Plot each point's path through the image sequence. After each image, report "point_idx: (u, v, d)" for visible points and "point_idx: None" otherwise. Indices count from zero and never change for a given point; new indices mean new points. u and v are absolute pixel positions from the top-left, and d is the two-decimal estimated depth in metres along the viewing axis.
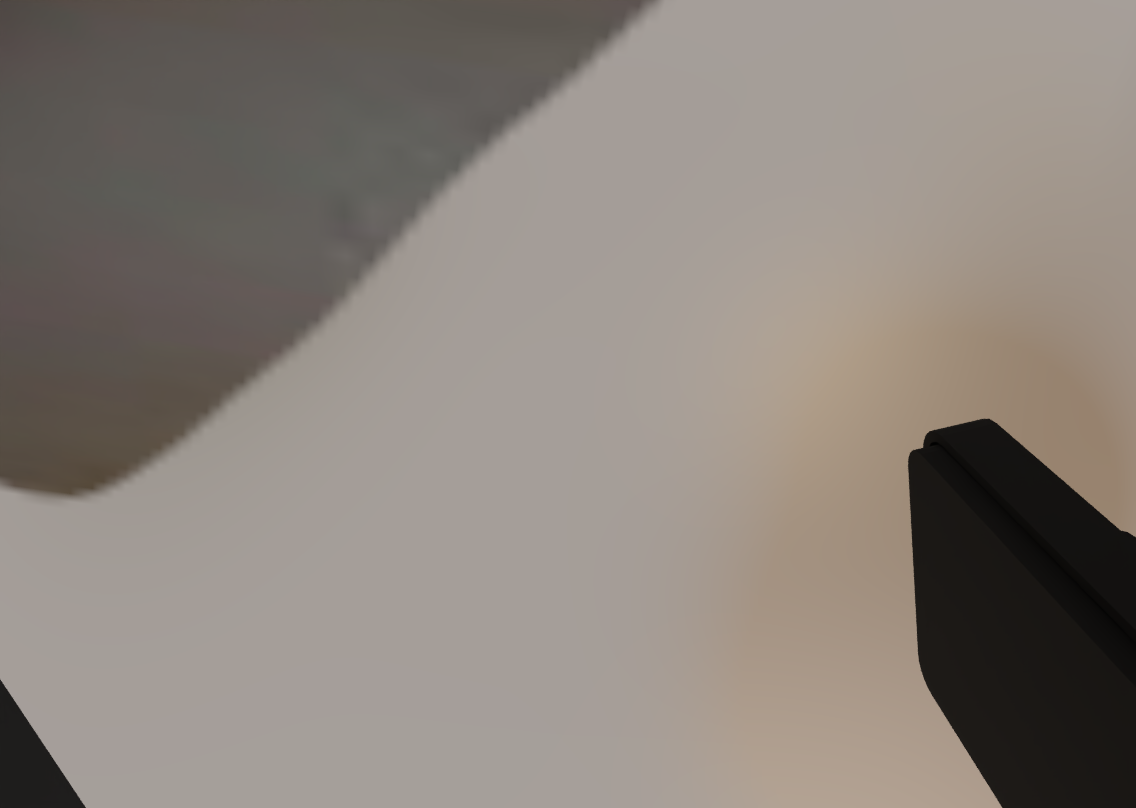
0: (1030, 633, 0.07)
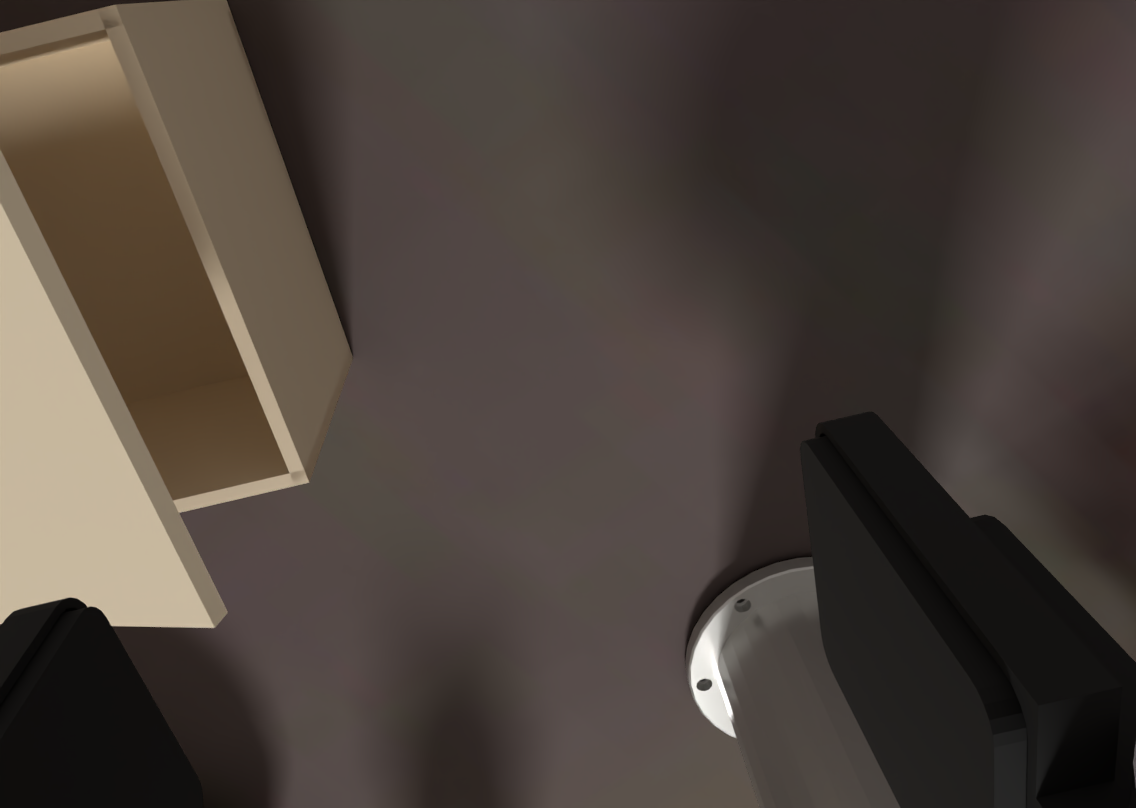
0: (887, 608, 0.07)
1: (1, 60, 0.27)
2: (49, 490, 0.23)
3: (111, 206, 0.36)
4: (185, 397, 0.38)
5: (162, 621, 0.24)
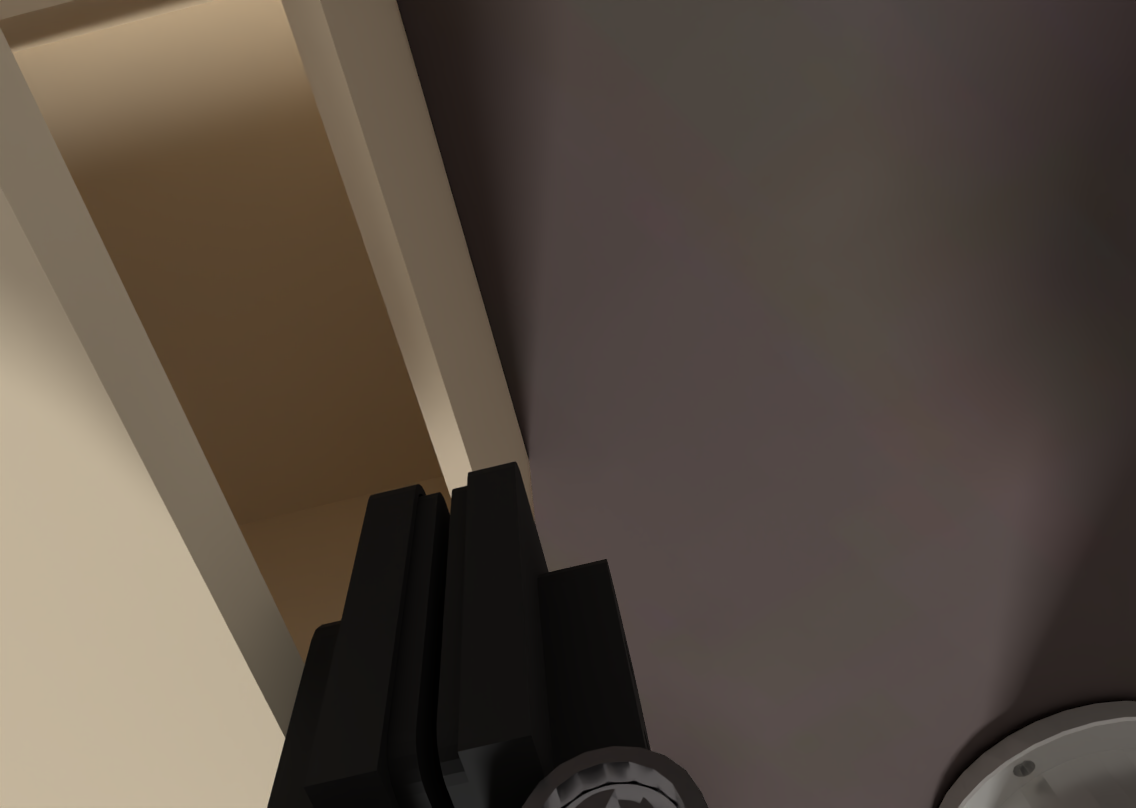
0: None
1: (42, 28, 0.15)
2: None
3: (194, 257, 0.24)
4: (296, 527, 0.27)
5: None
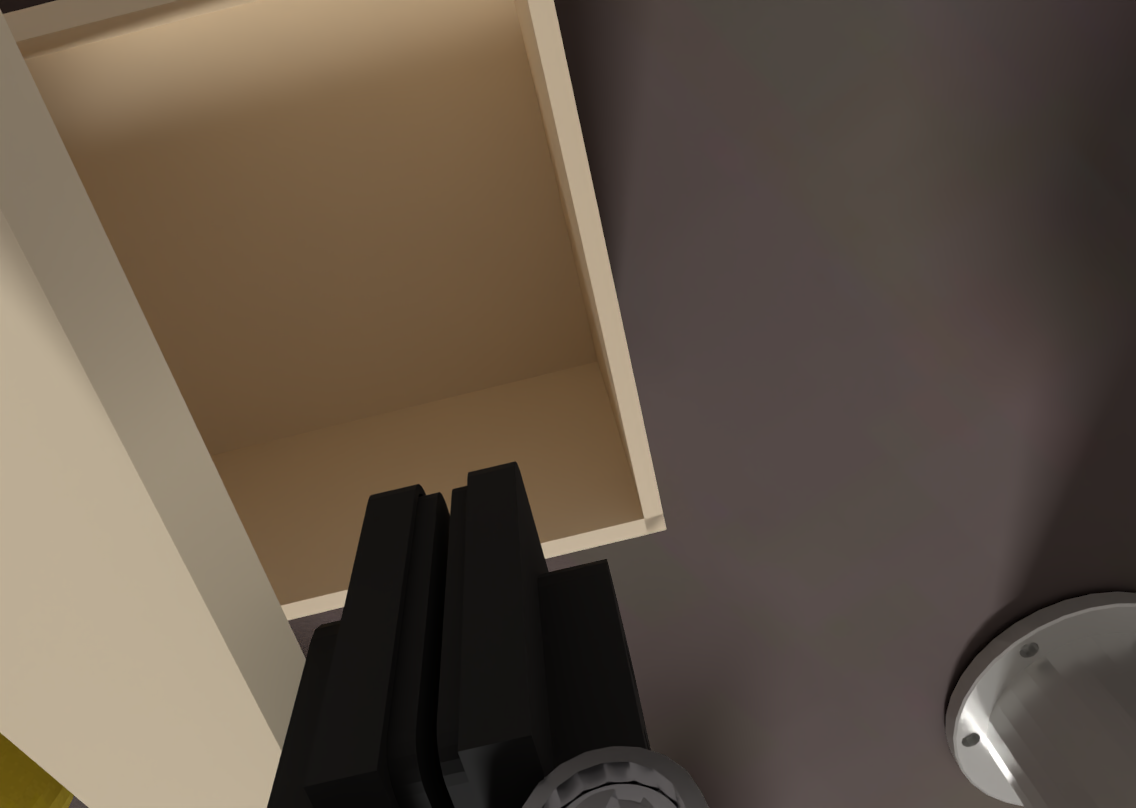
0: None
1: None
2: None
3: (349, 182, 0.29)
4: (420, 415, 0.32)
5: None
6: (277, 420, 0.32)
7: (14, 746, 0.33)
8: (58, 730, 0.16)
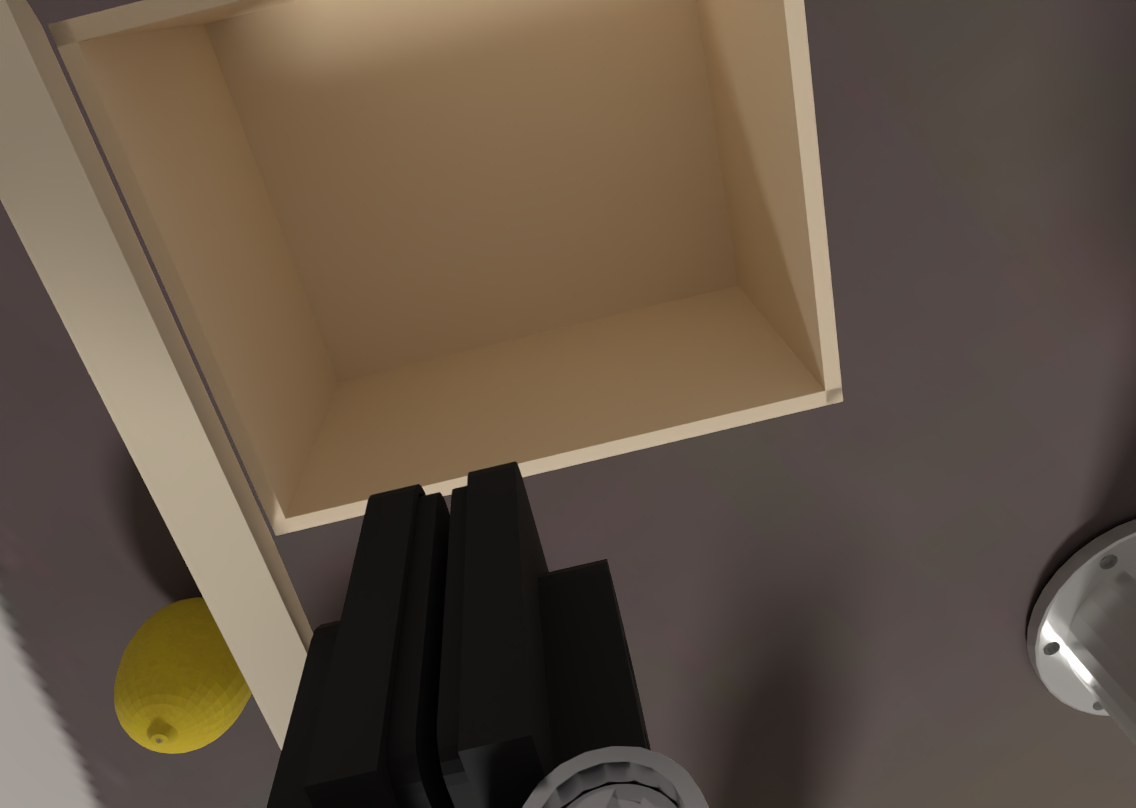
0: None
1: None
2: None
3: (535, 119, 0.33)
4: (583, 331, 0.36)
5: None
6: (453, 336, 0.36)
7: (214, 627, 0.37)
8: None
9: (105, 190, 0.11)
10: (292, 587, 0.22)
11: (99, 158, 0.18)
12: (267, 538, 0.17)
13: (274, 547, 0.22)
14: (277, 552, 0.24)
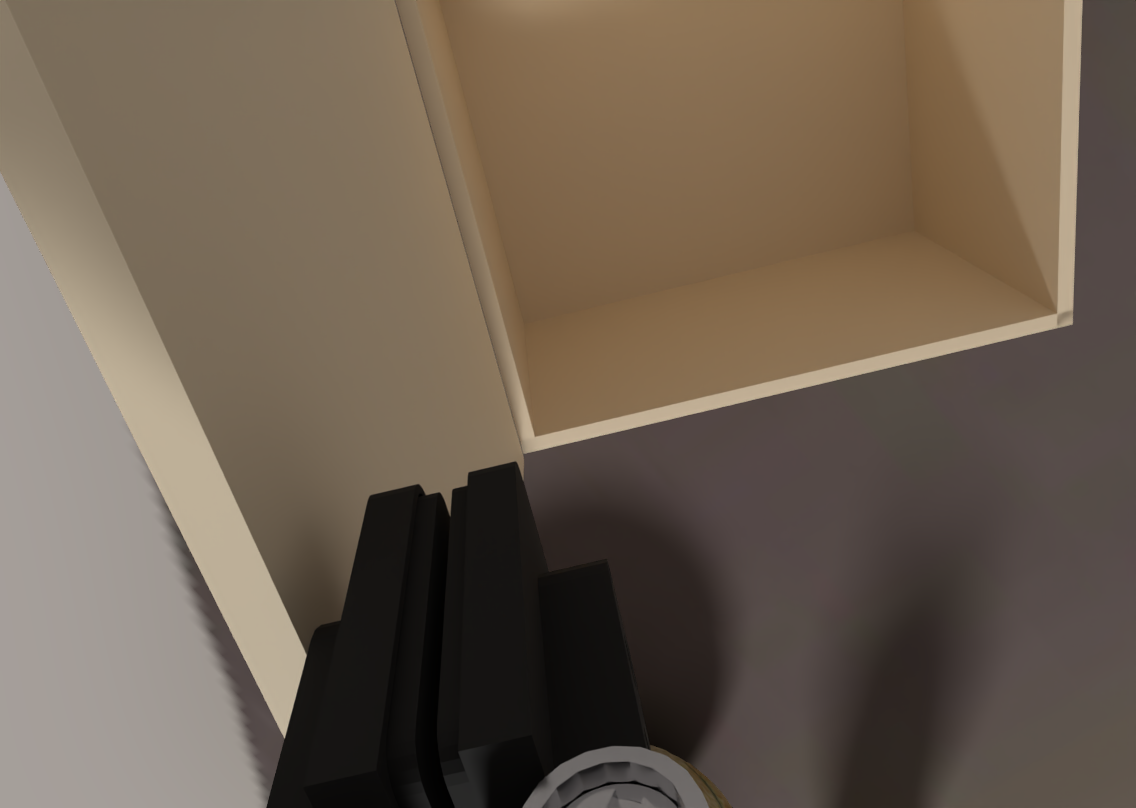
0: None
1: None
2: None
3: (736, 64, 0.34)
4: (767, 273, 0.37)
5: None
6: (638, 279, 0.37)
7: None
8: None
9: (275, 144, 0.11)
10: None
11: (387, 82, 0.19)
12: (452, 477, 0.17)
13: None
14: None
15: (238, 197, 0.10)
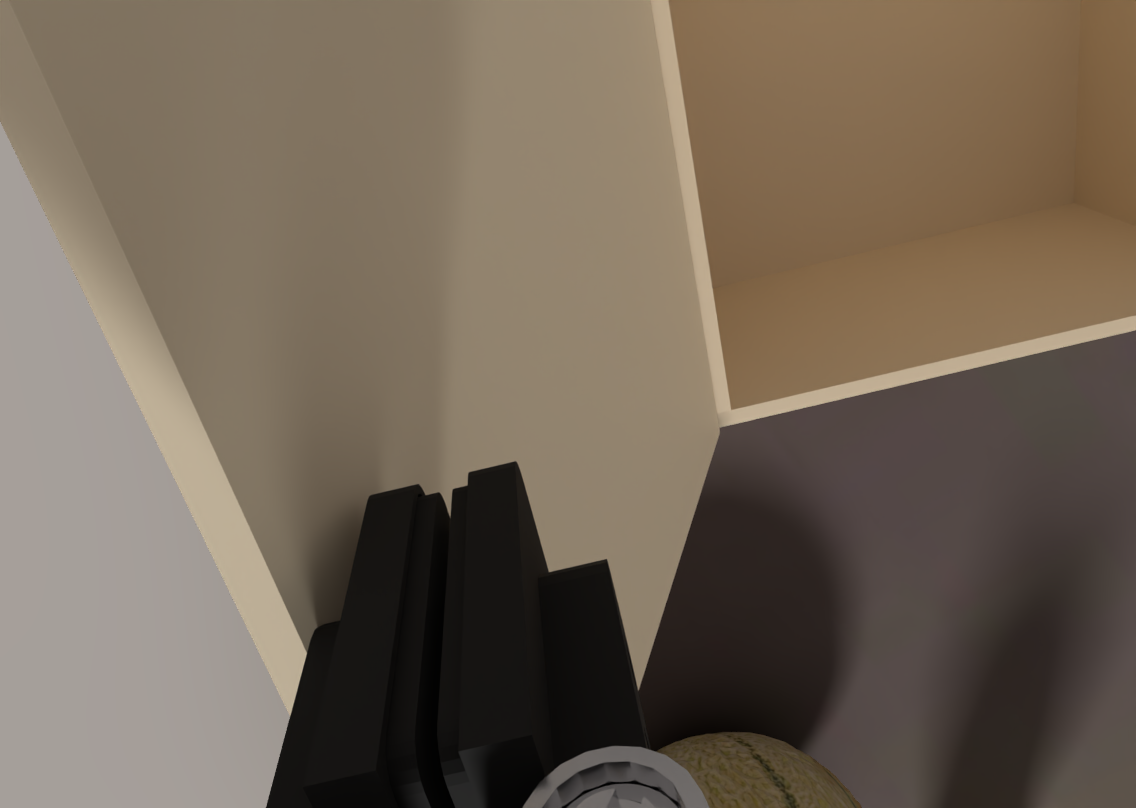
0: None
1: None
2: None
3: (906, 26, 0.33)
4: (925, 246, 0.35)
5: None
6: (787, 252, 0.36)
7: None
8: None
9: (397, 116, 0.11)
10: (676, 494, 0.22)
11: (602, 31, 0.18)
12: (594, 459, 0.17)
13: (670, 451, 0.22)
14: (689, 452, 0.23)
15: (323, 179, 0.09)
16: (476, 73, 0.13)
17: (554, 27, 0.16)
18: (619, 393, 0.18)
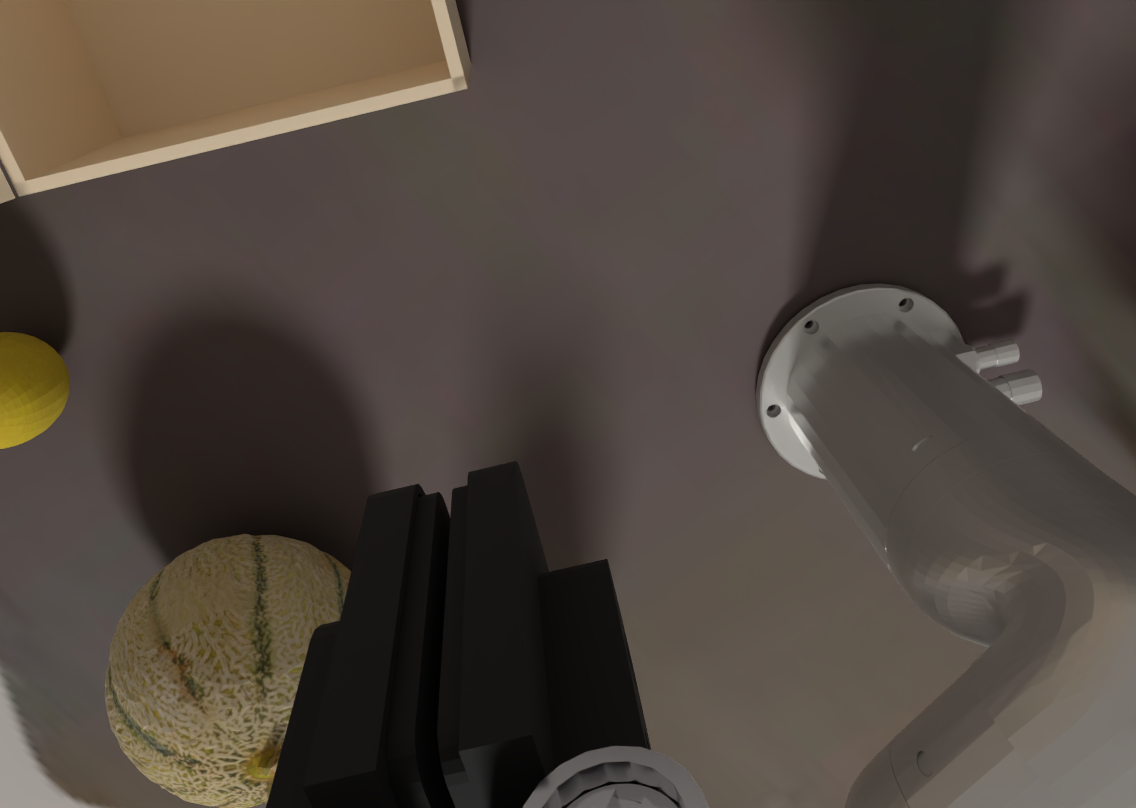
0: None
1: None
2: None
3: None
4: (324, 90, 0.43)
5: None
6: (219, 97, 0.43)
7: (21, 346, 0.44)
8: None
9: None
10: None
11: None
12: None
13: None
14: None
15: None
16: None
17: None
18: None
